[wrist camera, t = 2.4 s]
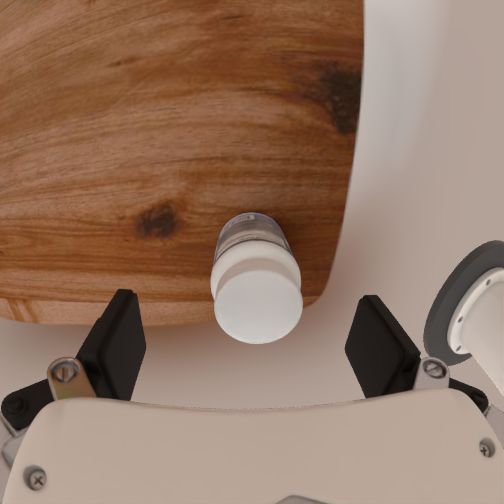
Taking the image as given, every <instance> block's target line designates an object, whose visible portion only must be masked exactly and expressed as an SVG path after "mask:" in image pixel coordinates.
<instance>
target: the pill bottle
mask: <svg viewBox="0 0 504 504" xmlns="http://www.w3.org/2000/svg"><path fill="white" fill-rule="evenodd" d="M300 287H301V275H300V270H299V267H298V264H297V262H296V261H295V258H294V256H293V254H292V252H291V250H290V248H289V245H288V243H287V241H286V239H285V236H284V234H283V232H282V230H281V228H280V227H279V226H278V224H277V223H276V222H275V221H274V220H273V219H271V218H270V217H268V216H266V215H263V214H259V213H244V214H241V215H238V216H236V217H234V218H232V219H231V220H230V221H228V222H227V223H226V225H225V226H224V227H223V229H222V231H221V233H220V235H219V238H218V243H217V248H216V253H215V258H214V264H213V269H212V274H211V291H212V295H213V297H214V300H215V303H214V310H215V315H216V319H217V321H218V323H219V325H220V326H221V327H222V329H223V330H224V331H225V332H226V333H227V334H228V335H230V336H231V337H233V338H235V339H237V340H239V341H242V342H246V343H252V344H261V343H268V342H272V341H275V340H278V339H280V338H282V337H283V336H285V335H286V334H288V333H289V332H290V331H291V330H292V329H293V328H294V327H295V326H296V324H297V323H298V321H299V319H300V317H301V314H302V309H303V300H302V295H301V292H300Z"/></svg>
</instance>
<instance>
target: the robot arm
mask: <svg viewBox="0 0 504 504" xmlns="http://www.w3.org/2000/svg"><path fill="white" fill-rule="evenodd" d="M447 341H448V345H449V346H450V348H451V349H452V350H453V351H454V352H455V353H457V354H466V353H471V355H472V356H473V357H474V358H475V360H476V361H477V362H478V363H479V365H480V366H481V367H482V368H483V370H484V371H485V372H486V373H487V375H488V376H489V378H490V379H491V380H492V381H493V383H494V384H495V386H496V387H497V388H498V390H499V391H500V392H501V394H502V395H503V397H504V268H502V267H496V268H493V269H491V270H489V271H487V272H485V273H484V274H483V275H482V276H480V277H479V278H478V279H477V280H476V281H475V282H474V283H473V284H472V285H471V287H470V288H469V289H468V290H467V292H466V293H465V294H464V296H463V297H462V299H461V300H460V302H459V304H458V305H457V307H456V309H455V311H454V313H453V316H452V318H451V321H450V324H449V327H448V332H447ZM145 351H146V342H145V336H144V331H143V326H142V321H141V315H140V309H139V303H138V297H137V294H135V293H133V291H132V290H128V289H118V290H117V292H116V294H115V295H114V297H113V298H112V300H111V301H110V303H109V305H108V306H107V308H106V310H105V311H104V313H103V314H102V316H101V318H98V320H97V321H96V323H95V324H94V326H93V328H92V329H91V331H90V333H89V335H88V336H87V338H86V340H85V341H84V343H83V345H82V347H81V348H80V350H79V352H78V354H77V355H76V357H75V358H72V357H62V358H59V359H57V360H55V361H54V362H52V363H51V365H50V366H49V367H48V370H47V379H45V380H42V381H40V382H38V383H35V384H33V385H30V386H28V387H25V388H23V389H20V390H18V391H15V392H12V393H11V394H9V395H8V396H6V397H5V398H4V400H3V402H2V405H1V412H0V504H504V412H502V411H501V410H499V409H498V408H497V407H495V406H494V405H492V404H491V406H488V399H487V396H486V395H485V394H484V393H483V392H482V391H481V390H479V389H477V388H475V387H472V386H469V385H467V384H464V383H462V382H459V381H457V380H454V379H452V378H450V377H449V376H450V373H449V372H450V371H449V368H448V366H447V365H446V364H445V363H444V362H443V361H442V360H440V359H438V358H435V357H426V358H423V359H422V360H421V358H420V357H419V356H420V354H421V352H420V351H419V350H418V348H417V347H416V346H415V344H414V343H413V341H412V340H411V339H410V337H409V336H408V335H407V333H406V332H405V331H404V330H403V328H402V326H401V325H400V324H399V323H398V321H397V320H396V319H395V317H394V316H393V315H392V313H391V312H390V311H389V309H388V308H387V307H386V306H385V304H384V303H383V302H382V301H381V299H380V298H379V297H378V296H377V295H365V296H363V298H362V299H360V300H359V303H358V306H357V310H356V313H355V316H354V320H353V323H352V326H351V329H350V332H349V335H348V339H347V341H346V345H345V353H346V355H347V357H348V360H349V362H350V364H351V366H352V368H353V370H354V373H355V375H356V377H357V379H358V382H359V384H360V386H361V388H362V391H363V393H364V395H365V398H366V399H361V400H354V401H348V402H341V403H332V404H323V405H314V406H302V407H289V408H271V409H270V408H269V409H211V408H192V407H179V406H168V405H157V404H147V403H139V402H132V401H130V400H131V396H132V393H133V389H134V386H135V383H136V380H137V377H138V373H139V370H140V366H141V364H142V361H143V358H144V354H145Z"/></svg>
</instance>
